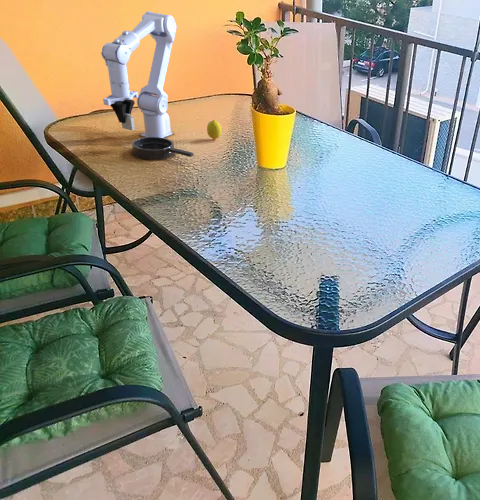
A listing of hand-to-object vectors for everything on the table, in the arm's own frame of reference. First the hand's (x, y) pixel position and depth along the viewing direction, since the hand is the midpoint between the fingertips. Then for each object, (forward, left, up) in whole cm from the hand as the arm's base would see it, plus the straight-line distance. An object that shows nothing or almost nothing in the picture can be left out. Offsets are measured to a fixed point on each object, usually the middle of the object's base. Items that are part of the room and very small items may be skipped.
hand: (124, 121), depth 164 cm
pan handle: (-1, +22, -7) cm, 23 cm away
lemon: (-26, +20, -10) cm, 34 cm away
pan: (-1, +11, -9) cm, 14 cm away
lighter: (0, 0, -2) cm, 2 cm away
